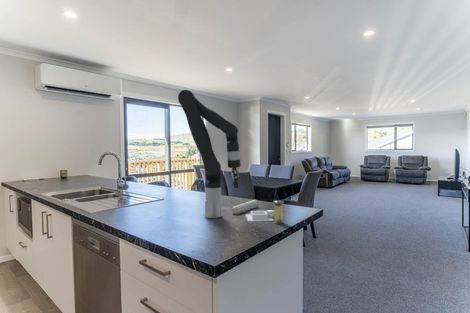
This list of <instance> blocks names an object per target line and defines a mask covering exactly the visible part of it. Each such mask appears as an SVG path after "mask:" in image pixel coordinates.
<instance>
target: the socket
mask: <svg viewBox="0 0 470 313" xmlns="http://www.w3.org/2000/svg"><path fill="white" fill-rule="evenodd" d="M245 218H246V220H247V222H248V223H251V222H252V223H256V222H257V223H258V222H259V223H260V222H261V223H262V222H274V209H272V210H269V209H268V210H250V213H246V214H245Z"/></svg>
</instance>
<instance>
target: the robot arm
mask: <svg viewBox="0 0 470 313" xmlns="http://www.w3.org/2000/svg"><path fill="white" fill-rule="evenodd" d="M177 99H178V100H177V101H178V103H179V105H180V107H181V108H182V110H183V113H184V114H185V118H186V120H187V124H188V129H189V131H190V134H191V136H192V139H193V142H194V144H195V146H196V148H197V150H198V152H199V154H200V156H201V161H202V163H203V168H204V171H205V175H204V176H205V179H204V180H205V183H204V190H205V191H204V193H205V196H204V198H205V201H204V216H205V217H204V218H205V219H208V218H209V219H217V218H221V217H222V166H221V163H220V162H219V161H218V158H217V157H216V155H215V152H214V149H213V144H212V141H211V137H210V134H209V132H208V129H207V128H208V127H206V124H205V122H204V120H205V121H206V122H208V123H209V124H211V125H212V126H214V127H215V128H216V129H218V130H220V131H221V132H223V133H224V134H225V138H226V153H227V154H226V159H227V168H228V169H231V171H230V172H231V178H232V180H233V182H232V183H233V186H234V187H233V188H234V189H238V188H239V170H238V169H237V168H240V167H241V166H242V165H241V153H240V147H239V141H238V134H239V133H238V132H239V130H238V127H237V126H236V125H235V124H234V123H232V122H230V121H228V120H227V119H225V118H224V117H223V116H222V115H220V113H219V114H218V113H217V112H215V110H213V109H211V108H209V107H207V106H206V105H204V104H203V103H201V102H200V100H199V99H198V98H197V97H195V94H194V93H193V91H191V90H189V89H182V90H180V92H178V97H177Z"/></svg>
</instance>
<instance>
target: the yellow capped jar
mask: <svg viewBox="0 0 470 313" xmlns="http://www.w3.org/2000/svg"><path fill="white" fill-rule="evenodd" d="M272 203H273V207H274V208H273V210H274V217H273V220H274V221H273V223H274V224H275V225H282V224H283V223H284V222H283V220H284V219H283V218H284V217H283V216H284V212H283V211H284V210H283V209H284V203H285V201H284V200H273V202H272Z"/></svg>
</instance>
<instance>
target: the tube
mask: <svg viewBox="0 0 470 313" xmlns="http://www.w3.org/2000/svg"><path fill="white" fill-rule="evenodd" d="M259 206H260V202H259V200H257V199H253V200H249V201H247V202H244V203H240V204H238V205H234V206H233V207H232V208H231V212H232V214H233V215H238V214H241V213H245V212H248V211H251V210H252V209H256V208H258V207H259Z"/></svg>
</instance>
